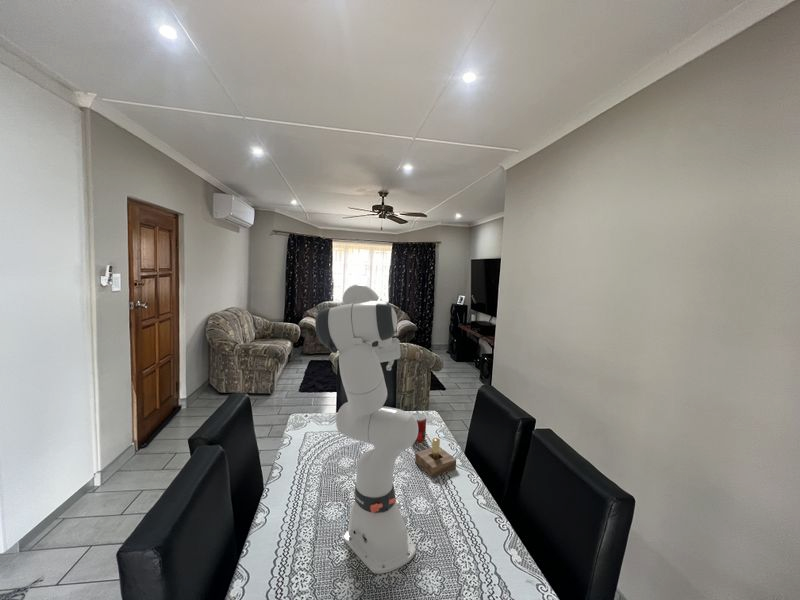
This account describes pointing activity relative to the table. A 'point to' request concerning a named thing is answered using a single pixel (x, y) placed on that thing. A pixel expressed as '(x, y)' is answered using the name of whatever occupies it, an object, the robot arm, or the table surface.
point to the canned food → (420, 426)
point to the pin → (435, 448)
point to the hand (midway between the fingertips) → (380, 372)
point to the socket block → (435, 462)
